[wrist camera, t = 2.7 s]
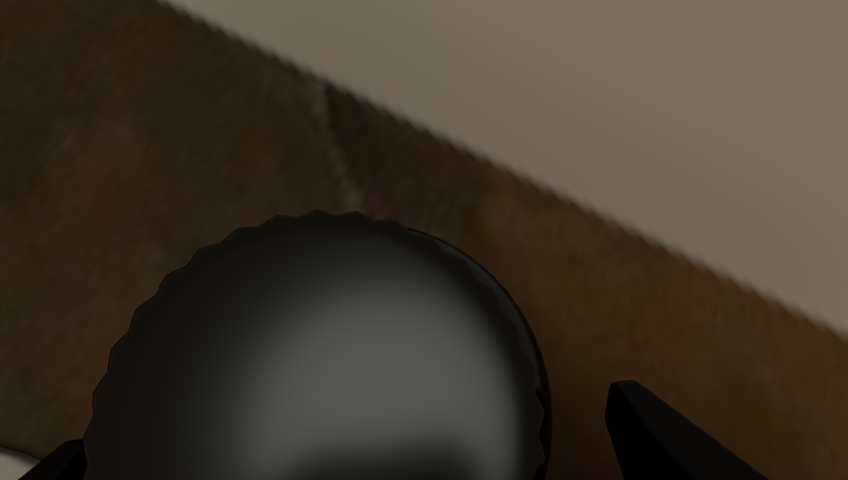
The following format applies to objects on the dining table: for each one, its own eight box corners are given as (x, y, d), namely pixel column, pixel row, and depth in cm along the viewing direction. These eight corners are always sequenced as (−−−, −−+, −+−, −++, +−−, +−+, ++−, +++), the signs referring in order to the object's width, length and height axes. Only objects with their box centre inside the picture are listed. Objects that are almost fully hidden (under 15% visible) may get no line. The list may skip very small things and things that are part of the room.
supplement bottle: (507, 485, 16) (745, 776, 4) (295, 522, 15) (-74, 950, 4) (469, 279, 18) (563, 92, 6) (279, 308, 17) (-3, 168, 6)
